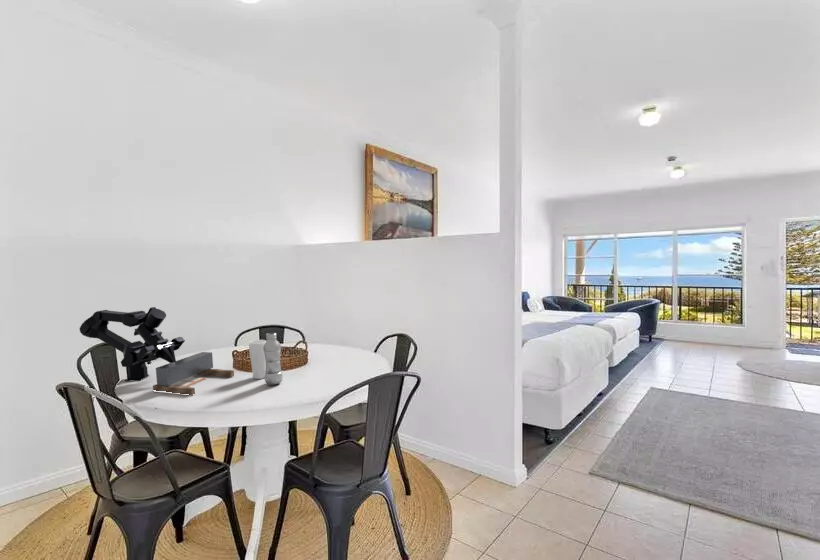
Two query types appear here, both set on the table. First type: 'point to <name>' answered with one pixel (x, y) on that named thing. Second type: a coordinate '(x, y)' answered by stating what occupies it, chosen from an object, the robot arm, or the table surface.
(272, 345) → the plastic bottle
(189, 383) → the label tile
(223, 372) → the rails
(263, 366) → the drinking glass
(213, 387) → the table surface
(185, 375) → the arm
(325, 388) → the table surface
